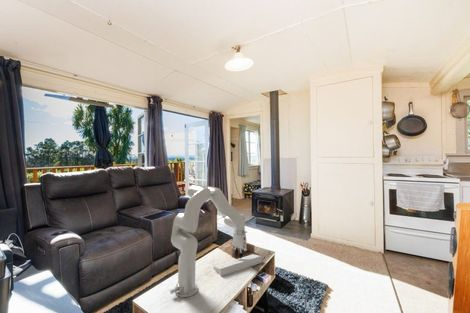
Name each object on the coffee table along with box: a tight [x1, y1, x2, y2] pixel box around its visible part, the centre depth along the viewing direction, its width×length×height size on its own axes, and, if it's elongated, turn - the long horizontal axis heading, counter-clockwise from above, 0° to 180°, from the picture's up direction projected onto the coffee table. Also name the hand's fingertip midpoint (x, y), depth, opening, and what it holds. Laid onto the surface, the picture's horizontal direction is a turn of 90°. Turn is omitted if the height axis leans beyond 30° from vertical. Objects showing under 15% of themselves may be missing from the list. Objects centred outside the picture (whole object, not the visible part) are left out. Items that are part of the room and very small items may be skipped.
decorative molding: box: [213, 253, 263, 277], centre depth 149 cm, size 34×5×10 cm
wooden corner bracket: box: [231, 242, 255, 258], centre depth 165 cm, size 17×9×6 cm, turn 139°
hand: (238, 256), depth 152 cm, fingers open, 3 cm apart
